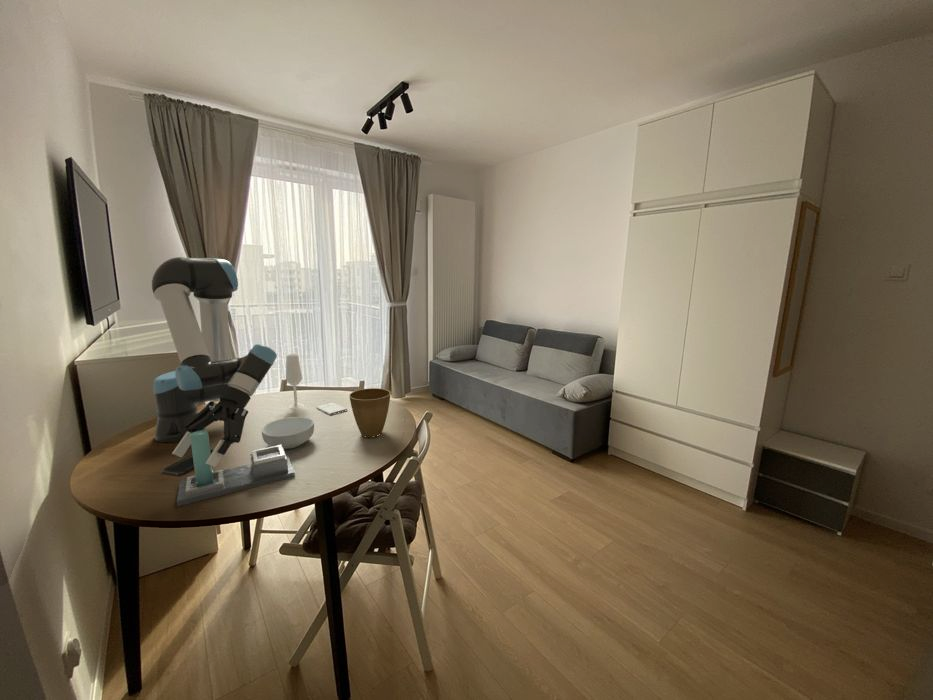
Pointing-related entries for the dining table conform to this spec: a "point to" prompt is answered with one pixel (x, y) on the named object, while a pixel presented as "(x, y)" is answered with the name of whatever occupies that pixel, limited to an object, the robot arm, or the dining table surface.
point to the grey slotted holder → (240, 476)
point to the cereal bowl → (288, 432)
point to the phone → (182, 466)
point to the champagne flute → (293, 375)
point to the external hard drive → (331, 408)
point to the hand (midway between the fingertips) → (193, 460)
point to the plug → (201, 457)
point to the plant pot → (370, 410)
